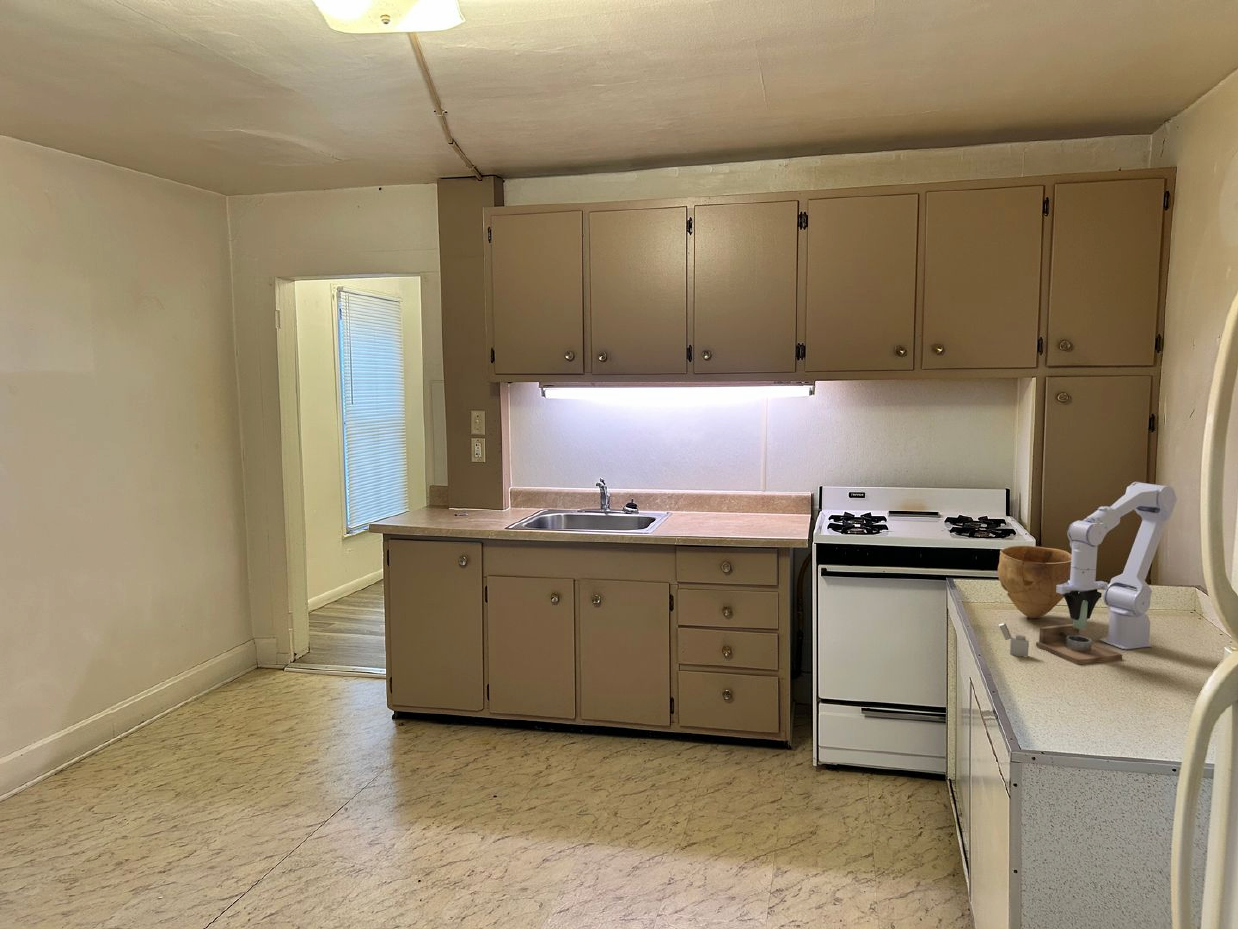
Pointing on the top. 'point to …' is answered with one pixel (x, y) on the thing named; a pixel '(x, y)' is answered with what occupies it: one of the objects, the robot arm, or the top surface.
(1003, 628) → the lighter
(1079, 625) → the peg
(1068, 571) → the bowl
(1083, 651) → the cup bracket
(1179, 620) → the top surface
